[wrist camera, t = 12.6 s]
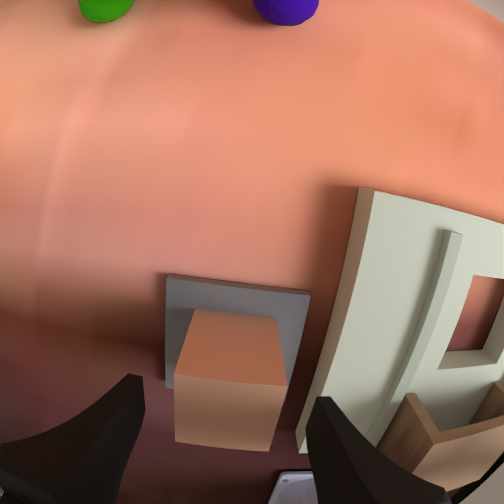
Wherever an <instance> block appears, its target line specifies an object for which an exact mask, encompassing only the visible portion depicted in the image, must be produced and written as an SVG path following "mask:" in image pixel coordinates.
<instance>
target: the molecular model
mask: <svg viewBox="0 0 504 504" xmlns="http://www.w3.org/2000/svg"><path fill="white" fill-rule="evenodd" d="M133 3H134V0H79V9H80V11H81V13H82V15H83V16H84V17H85V18H87V19H88V20H90V21H91V22H97V23H105V22H110V21H114V20H116V19H118V18H119V17H121V16H123V15H125V13H126V12H127V11H128V10H129V9H130V7H131V6H132V5H133ZM253 3H254V6H255V8H256V10H257V12H258V13H259V14H260V15H261V16H262V17H263V18H264V19H266V20H268V21H269V22H271V23H273V24H276V25H282V26H295V25H298V24H301V23H303V22H304V21H306V20H308V19H309V18H311V17H312V16H313V15H314V14H315V11H316V9H317V7H318V4H319V0H253Z"/></svg>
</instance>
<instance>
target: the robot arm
mask: <svg viewBox="0 0 504 504" xmlns="http://www.w3.org/2000/svg"><path fill="white" fill-rule="evenodd" d="M144 414H145V400H144V390H143V377H142V376H138V375H133V374H127V375H126V376H125V377H124V378H123V379H122V380H120V381H119V382H118V383H117V384H116V385H115V386H114V387H113V388H112V389H110V390H109V391H108V392H107V393H106V394H105V395H103V396H102V397H101V398H100V399H99V400H97V401H96V402H95V403H94V404H92V405H91V406H89V407H88V408H87V409H85V410H84V411H83V412H81V413H80V414H78V415H77V416H75V417H73V418H72V419H70V420H68V421H67V422H65V423H63V424H61V425H59V426H57V427H55V428H53V429H50V430H48V431H46V432H44V433H41V434H38V435H35V436H32V437H29V438H26V439H22V440H18V441H13V442H8V443H2V444H1V445H0V486H1V488H2V489H3V490H4V493H3V495H2V496H1V495H0V504H115V503H116V499H117V494H118V490H119V486H120V482H121V478H122V475H123V472H124V469H125V466H126V464H127V461H128V459H129V456H130V454H131V451H132V449H133V447H134V444H135V442H136V439H137V437H138V434H139V432H140V429H141V425H142V422H143V418H144ZM305 431H306V444H307V451H308V456H309V460H310V465H311V469H312V471H287V472H283V473H281V474H280V476H279V478H278V481H277V483H276V486H275V488H274V490H273V493H272V495H271V497H270V500H269V502H268V504H451V501H450V499H449V497H448V494H447V492H446V490H445V489H444V487H441V486H438V485H436V484H433V483H431V482H428V481H426V480H424V479H422V478H420V477H418V476H416V475H414V474H412V473H410V472H408V471H407V470H405V469H403V468H402V467H400V466H399V465H397V464H396V463H394V462H393V461H391V460H390V459H389V458H387V457H386V456H385V455H384V454H383V453H381V452H380V451H379V450H378V449H377V448H375V447H374V446H373V445H372V444H371V443H370V442H369V441H368V440H367V439H366V438H365V437H364V436H363V435H362V434H361V433H360V432H359V431H358V429H357V428H356V427H355V426H354V425H353V424H352V423H351V421H350V420H349V419H348V418H347V417H346V415H345V414H344V413H343V412H342V410H341V409H340V408H339V407H338V405H337V404H336V403H335V401H334V400H333V399H332V398H331V396H317V397H316V400H315V403H314V405H313V408H312V411H311V414H310V416H309V419H308V422H307V425H306V427H305Z"/></svg>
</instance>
